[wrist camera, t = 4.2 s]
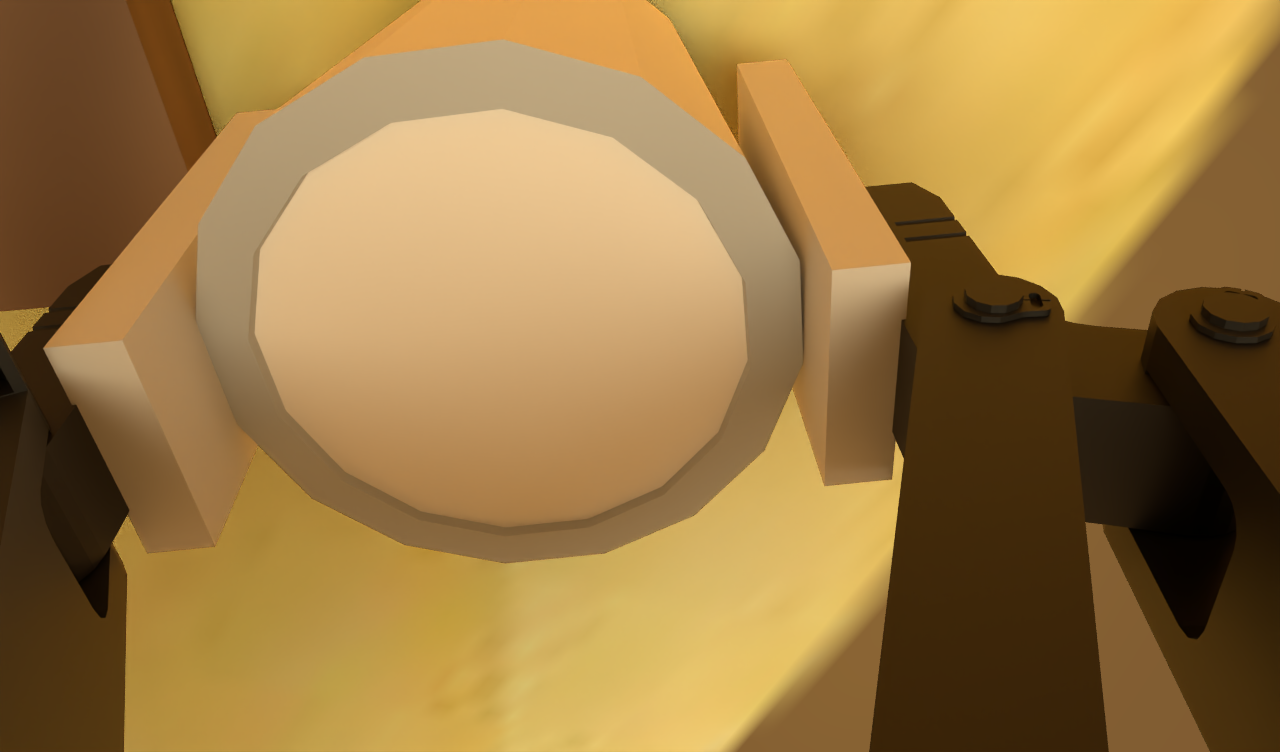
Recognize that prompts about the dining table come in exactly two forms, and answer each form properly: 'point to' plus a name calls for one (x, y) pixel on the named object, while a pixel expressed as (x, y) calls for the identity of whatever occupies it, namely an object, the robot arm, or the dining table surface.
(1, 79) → the serving board
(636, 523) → the beige cylinder
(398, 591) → the dining table surface
